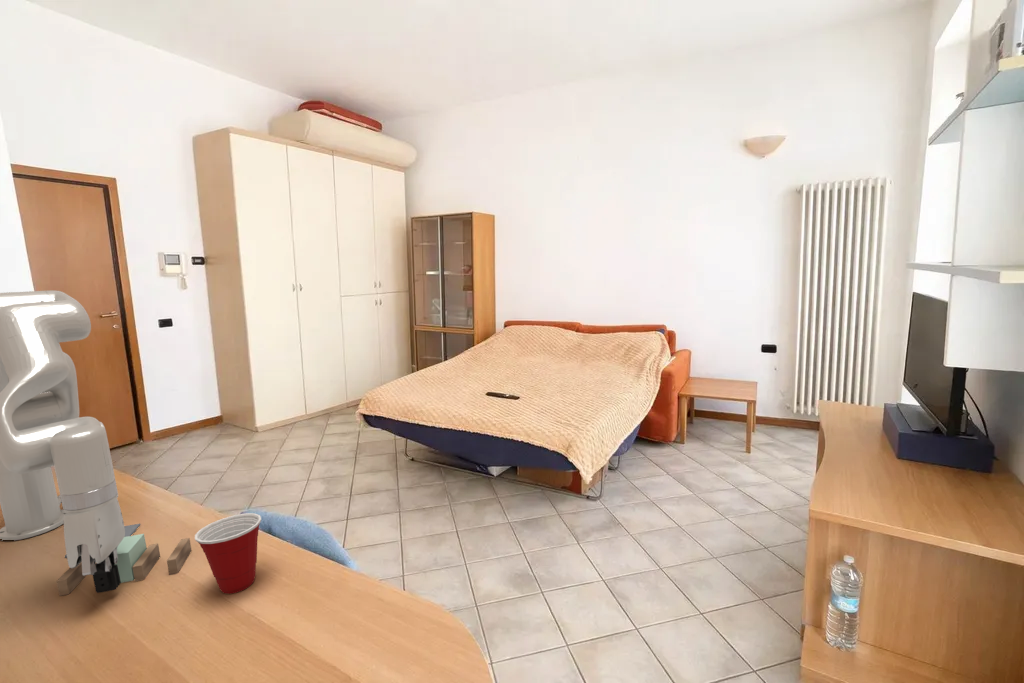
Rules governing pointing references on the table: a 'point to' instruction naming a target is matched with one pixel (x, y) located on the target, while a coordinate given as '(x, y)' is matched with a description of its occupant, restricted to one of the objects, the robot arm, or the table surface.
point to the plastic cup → (231, 550)
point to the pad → (127, 531)
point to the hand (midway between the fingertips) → (108, 588)
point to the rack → (139, 569)
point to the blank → (129, 555)
